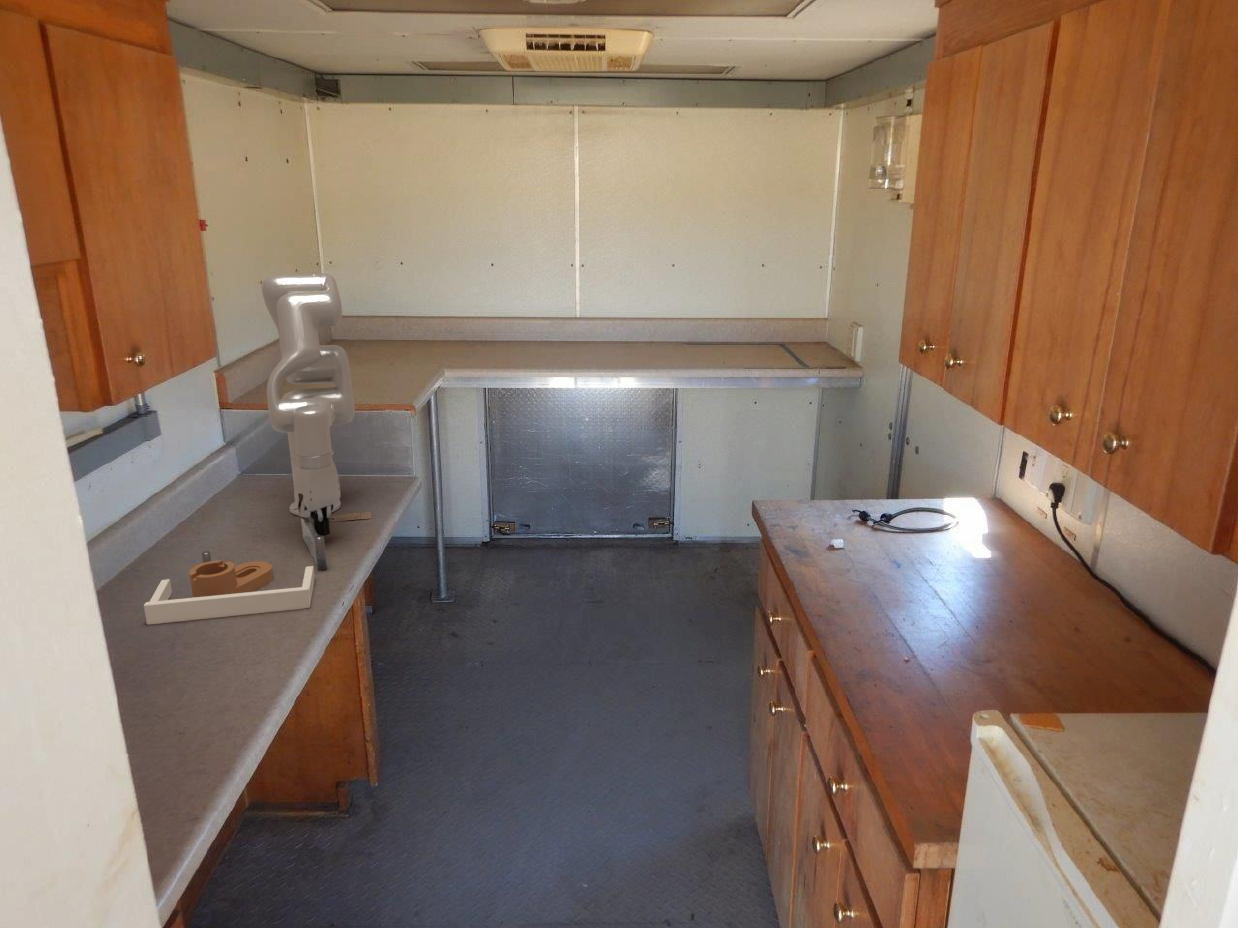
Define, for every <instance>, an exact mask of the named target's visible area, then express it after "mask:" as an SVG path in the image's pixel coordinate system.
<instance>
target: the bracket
mask: <svg viewBox="0 0 1238 928" xmlns="http://www.w3.org/2000/svg"><path fill="white" fill-rule="evenodd" d="M273 571H274V570H273V565H272V564H271V563H269V562H267V561H262V560H259V561H257V560H256V561H249V562H247V561H246V562H244V563H240V564H237V565H235V564H234V562H232V561H230V560H228V561H226V562H224V560H223V559H222V560H220V559H219V560H211V561H209V562H205V563H203V562H201V563H199V564H196V565H195V566H192V567H191V568H190V569H189V571H188V574H189V580H190V581H189V582H190V589H191V593H192V598H195V597H205V596H215V595H226V594H236V593H246V592H256V591H257V590H259V589H261V588H262V587H264V586H266V585H269V584H270V583H271V582H272V581H273V580H274V574H273V573H274V572H273Z"/></svg>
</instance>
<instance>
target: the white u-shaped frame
mask: <svg viewBox="0 0 1238 928" xmlns="http://www.w3.org/2000/svg"><path fill="white" fill-rule="evenodd" d="M315 579H316V578H315V569H314V565H311V566H305V569H304V575H303V580H302V585H301V586H300V587H289V588H288V587H287V588H280V589H268V590H258V591H257V590H256V591H253V592H246V593H236V594H226V595H215V596H205V597H195V598H193V597H185V598H177V599H176V598H175V599H169V598H170V597H171V595H172V593H173V591H172V585H171V579H170V578H167V579H162V580H160V581H159V582H160V583H159V584H158V585H157V587H156V590H155V591H154V593H153V595H152V597H151V598H150V600H149V601H146V602H145V603H144V604H143V609H144V614H145V620H146V625H157V624H158V625H159V624H167V623H177V622H188V621H197V620H205V619H207V620H208V619H216V618H224V617H235V616H245V615H246V616H247V615H253V614H262V613H274V612H284V611H295V610H301V609H302V610H303V609H310V607H311V604H312V603H311V602H312V597H313V591H314V585H315Z"/></svg>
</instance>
